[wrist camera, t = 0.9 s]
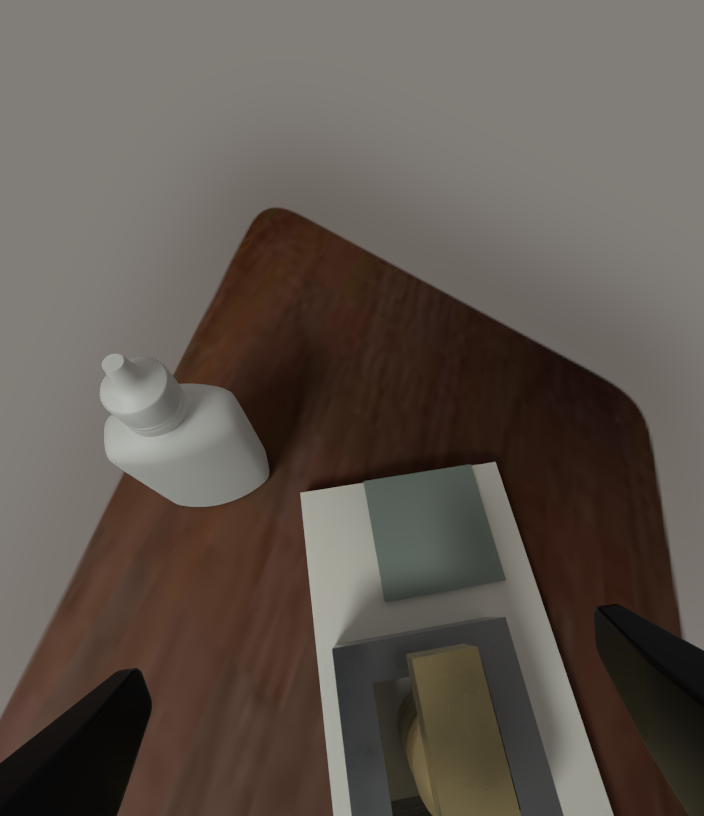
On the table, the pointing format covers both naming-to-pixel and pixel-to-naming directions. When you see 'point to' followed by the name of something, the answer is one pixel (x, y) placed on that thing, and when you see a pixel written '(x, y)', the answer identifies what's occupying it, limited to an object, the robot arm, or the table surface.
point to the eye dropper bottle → (179, 434)
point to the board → (372, 617)
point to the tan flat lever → (454, 736)
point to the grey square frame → (388, 661)
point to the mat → (431, 533)
